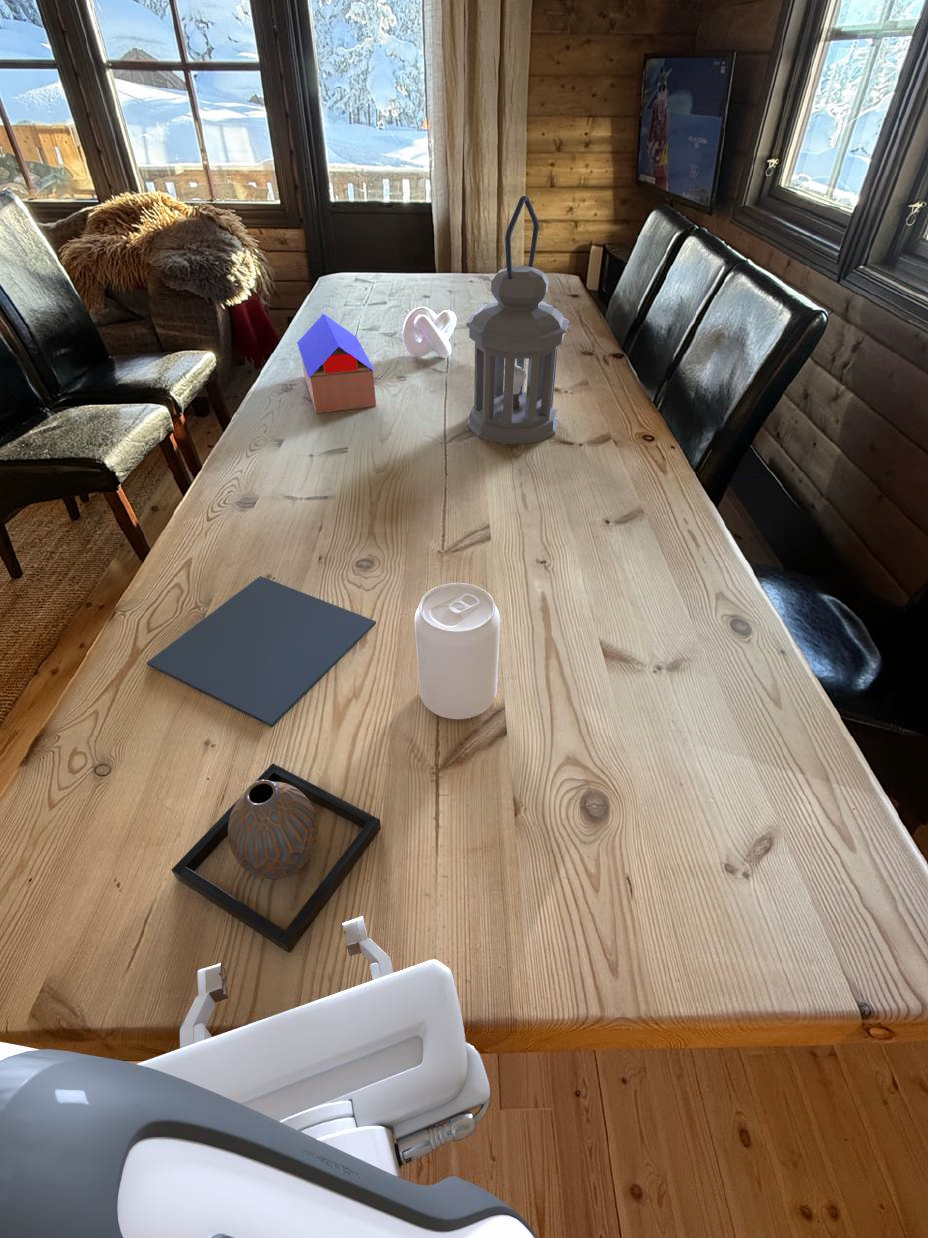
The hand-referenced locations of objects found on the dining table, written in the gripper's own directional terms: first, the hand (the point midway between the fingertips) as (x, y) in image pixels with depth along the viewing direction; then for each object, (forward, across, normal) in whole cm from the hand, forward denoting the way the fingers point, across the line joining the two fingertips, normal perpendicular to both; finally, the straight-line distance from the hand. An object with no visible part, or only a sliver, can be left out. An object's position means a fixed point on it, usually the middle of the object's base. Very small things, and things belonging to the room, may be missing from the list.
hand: (284, 945), depth 45 cm
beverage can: (+23, -20, +6) cm, 31 cm away
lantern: (+82, -50, +6) cm, 96 cm away
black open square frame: (+10, 0, +5) cm, 12 cm away
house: (+107, -24, +6) cm, 110 cm away
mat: (+37, -2, +5) cm, 38 cm away
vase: (+10, 0, +6) cm, 12 cm away
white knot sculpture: (+120, -47, +6) cm, 129 cm away
